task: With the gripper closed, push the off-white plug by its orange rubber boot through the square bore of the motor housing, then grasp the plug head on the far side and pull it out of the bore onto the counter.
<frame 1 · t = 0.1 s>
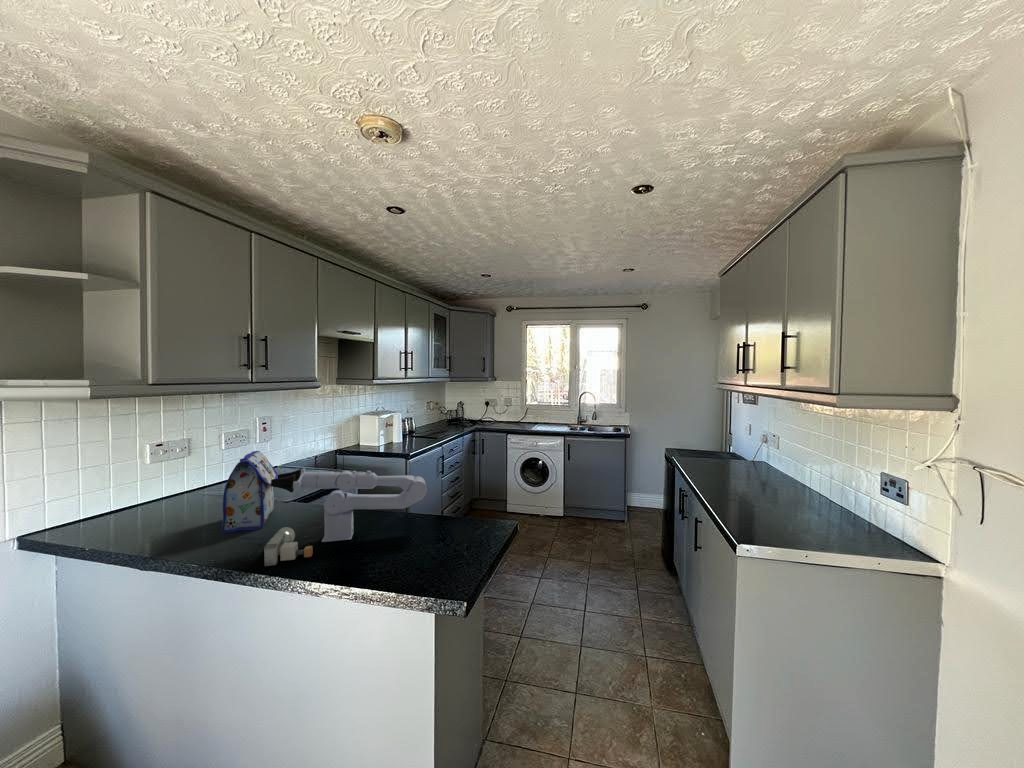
hand: (274, 480, 143), 22 cm above the countertop, tool horizontal, fingers open, 7 cm apart
housing: (275, 558, 131), on the countertop
lunch bag: (251, 522, 166), on the countertop
plug: (289, 557, 132), on the countertop
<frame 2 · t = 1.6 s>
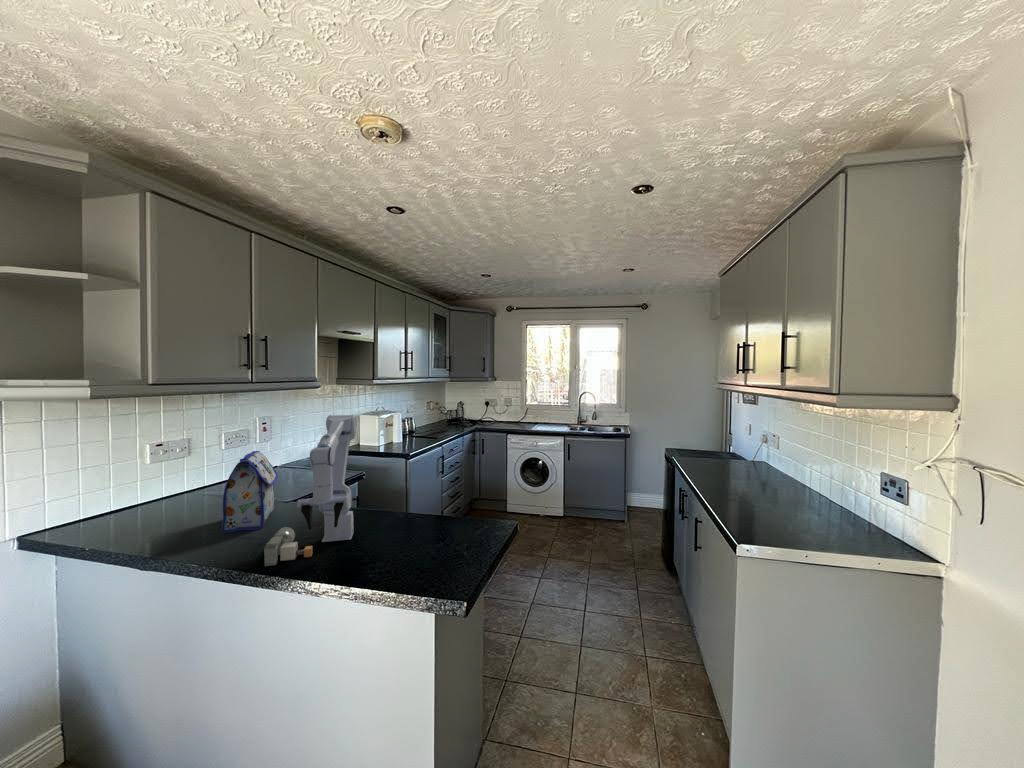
hand: (323, 527, 134), 8 cm above the countertop, tool pointing down, fingers open, 7 cm apart
nothing on the countertop moved.
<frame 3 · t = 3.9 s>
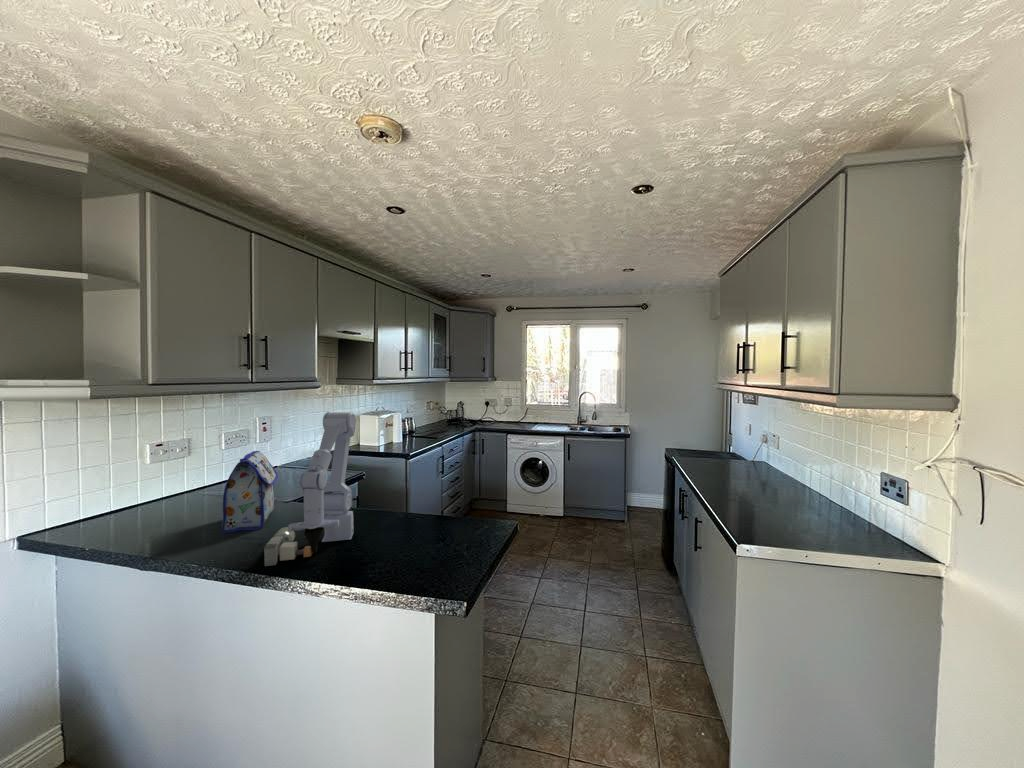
hand: (314, 551, 133), 1 cm above the countertop, tool pointing down, fingers closed
plug: (288, 557, 132), on the countertop, touching gripper
everything else where it was.
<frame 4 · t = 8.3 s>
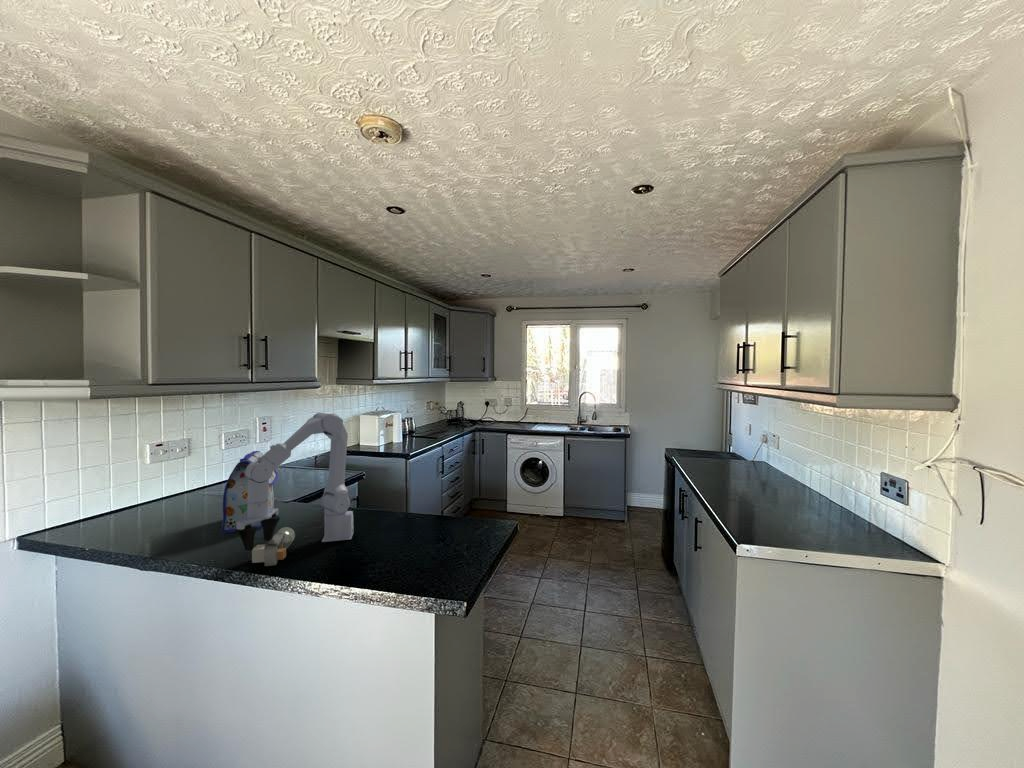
hand: (258, 545, 129), 5 cm above the countertop, tool pointing down, fingers open, 7 cm apart
plug: (262, 559, 130), on the countertop
everything else where it was.
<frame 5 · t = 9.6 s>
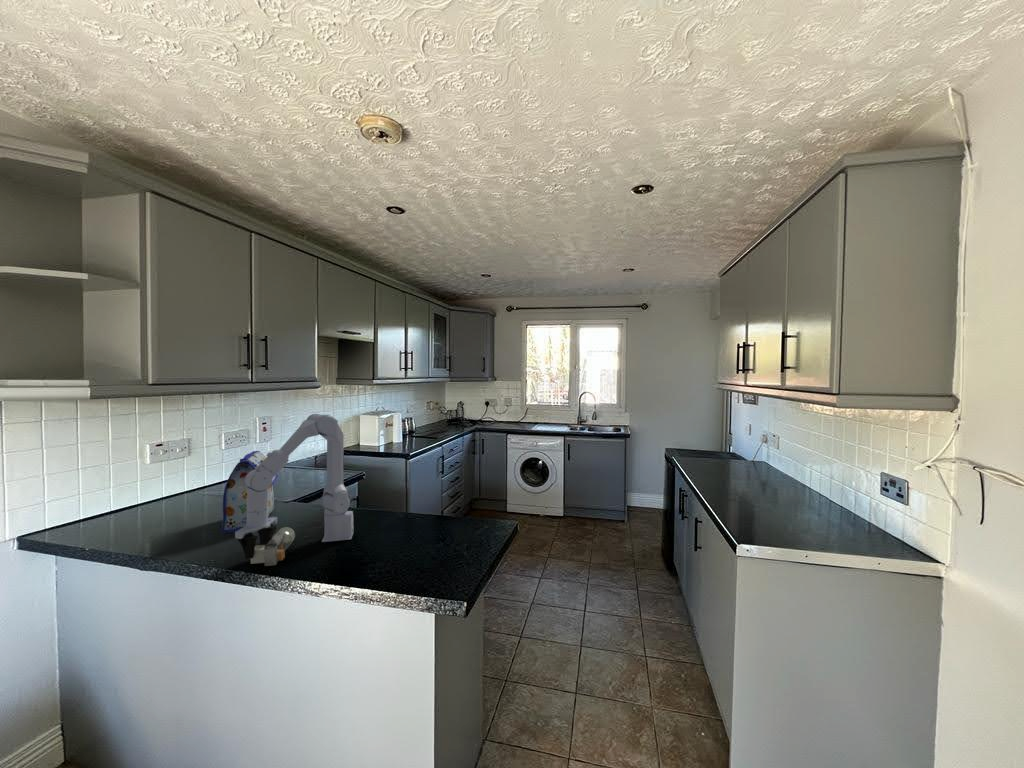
hand: (257, 554, 129), 2 cm above the countertop, tool pointing down, fingers open, 5 cm apart
plug: (260, 560, 130), on the countertop, touching gripper
everything else where it was.
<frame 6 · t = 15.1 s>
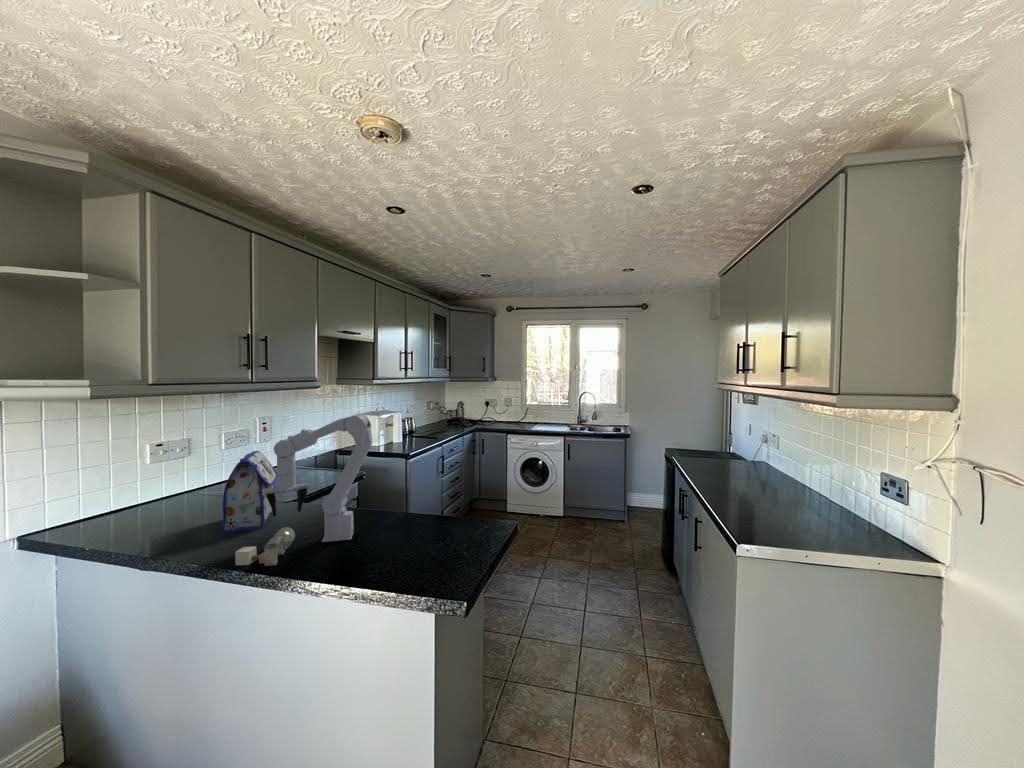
hand: (287, 513, 146), 9 cm above the countertop, tool pointing down, fingers open, 7 cm apart
plug: (246, 562, 128), on the countertop
everything else where it was.
at the end: plug 1.4 cm from the target spot, on the countertop; plug touching countertop; plug tilted 0° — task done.
